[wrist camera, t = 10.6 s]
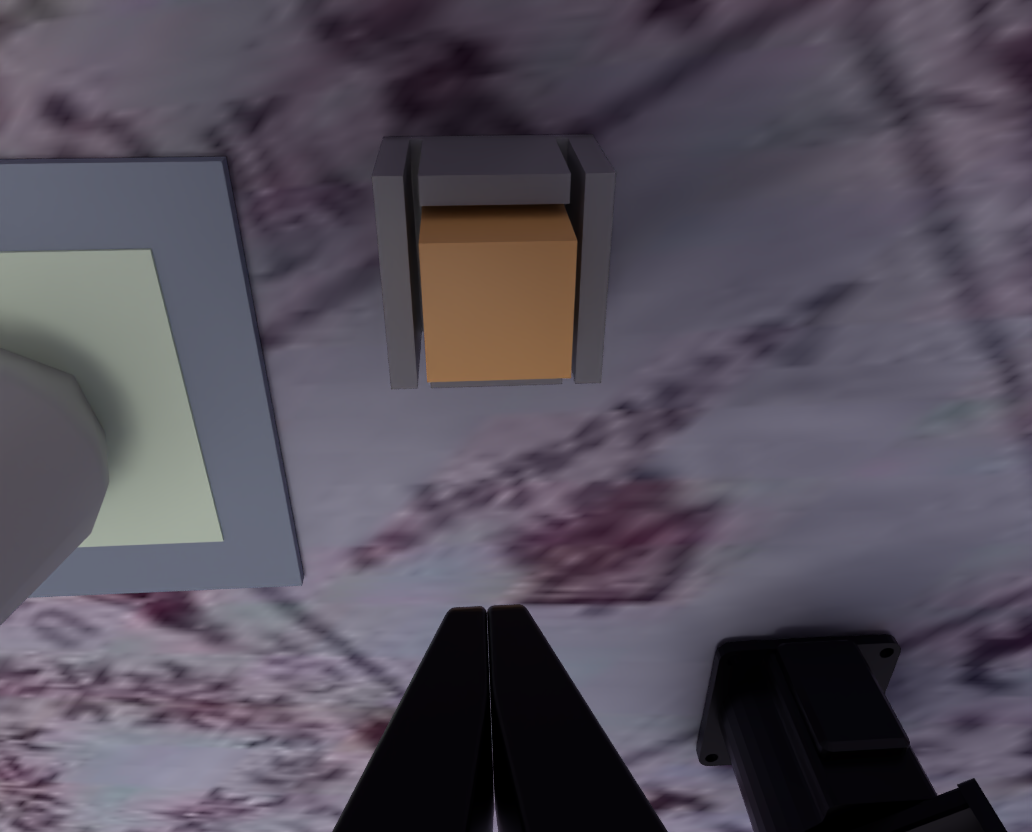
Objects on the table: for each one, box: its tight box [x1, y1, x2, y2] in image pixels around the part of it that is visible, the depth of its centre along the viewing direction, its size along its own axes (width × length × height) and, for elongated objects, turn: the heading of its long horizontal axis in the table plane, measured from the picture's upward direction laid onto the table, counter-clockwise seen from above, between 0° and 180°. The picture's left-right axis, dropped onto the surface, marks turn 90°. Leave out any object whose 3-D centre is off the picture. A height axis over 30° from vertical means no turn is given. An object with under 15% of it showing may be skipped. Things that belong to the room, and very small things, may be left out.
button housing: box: [372, 134, 616, 389], centre depth 18 cm, size 5×5×3 cm
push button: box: [419, 204, 577, 382], centre depth 17 cm, size 3×3×3 cm
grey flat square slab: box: [0, 157, 304, 598], centre depth 21 cm, size 13×13×1 cm
